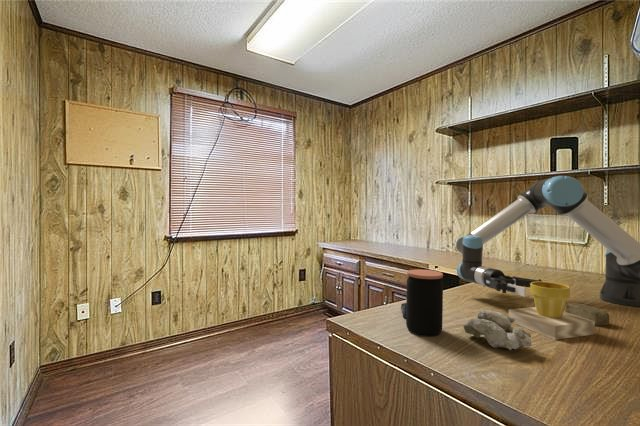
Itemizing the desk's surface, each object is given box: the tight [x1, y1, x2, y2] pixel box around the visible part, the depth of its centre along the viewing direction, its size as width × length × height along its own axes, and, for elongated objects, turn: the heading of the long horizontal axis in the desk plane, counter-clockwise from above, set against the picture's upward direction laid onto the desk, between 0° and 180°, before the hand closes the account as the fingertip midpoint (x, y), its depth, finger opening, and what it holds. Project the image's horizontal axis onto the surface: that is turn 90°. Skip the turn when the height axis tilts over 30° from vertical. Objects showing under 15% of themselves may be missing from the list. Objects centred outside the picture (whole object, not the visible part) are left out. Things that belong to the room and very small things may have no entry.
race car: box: [400, 302, 406, 319], centre depth 116 cm, size 15×7×4 cm, turn 175°
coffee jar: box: [405, 268, 444, 337], centre depth 99 cm, size 11×11×18 cm
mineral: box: [462, 308, 533, 351], centre depth 89 cm, size 12×17×10 cm
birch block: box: [508, 306, 596, 341], centre depth 103 cm, size 16×16×4 cm
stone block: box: [564, 302, 610, 327], centre depth 110 cm, size 6×12×5 cm, turn 11°
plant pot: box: [529, 280, 571, 318], centre depth 103 cm, size 10×10×10 cm
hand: (541, 291), depth 105 cm, fingers open, 13 cm apart
